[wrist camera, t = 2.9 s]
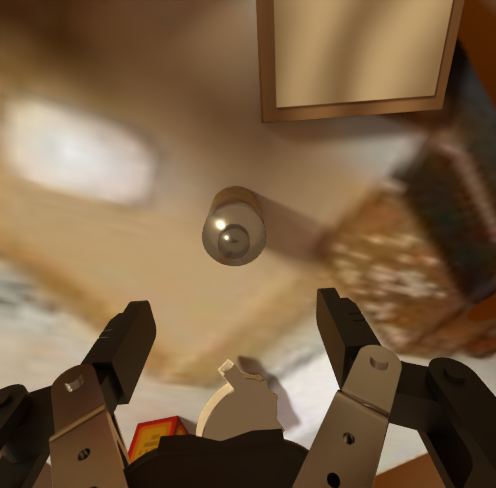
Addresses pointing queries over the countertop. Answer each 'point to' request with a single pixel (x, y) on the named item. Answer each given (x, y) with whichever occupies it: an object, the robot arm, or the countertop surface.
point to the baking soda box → (153, 435)
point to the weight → (234, 227)
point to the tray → (353, 56)
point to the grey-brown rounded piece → (238, 406)
